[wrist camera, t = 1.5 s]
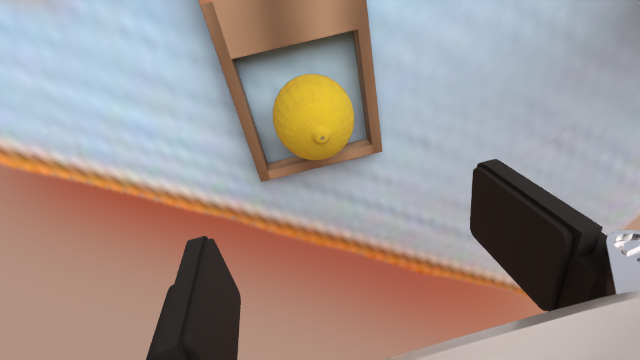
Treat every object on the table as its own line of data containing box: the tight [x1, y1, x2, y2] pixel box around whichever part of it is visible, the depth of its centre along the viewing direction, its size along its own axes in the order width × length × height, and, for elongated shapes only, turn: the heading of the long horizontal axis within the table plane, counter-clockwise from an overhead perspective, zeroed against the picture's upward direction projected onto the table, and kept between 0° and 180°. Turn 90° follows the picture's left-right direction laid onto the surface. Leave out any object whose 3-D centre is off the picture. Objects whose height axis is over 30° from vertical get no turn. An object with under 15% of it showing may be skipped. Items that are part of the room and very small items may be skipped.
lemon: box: [273, 74, 354, 160], centre depth 22 cm, size 6×6×8 cm
